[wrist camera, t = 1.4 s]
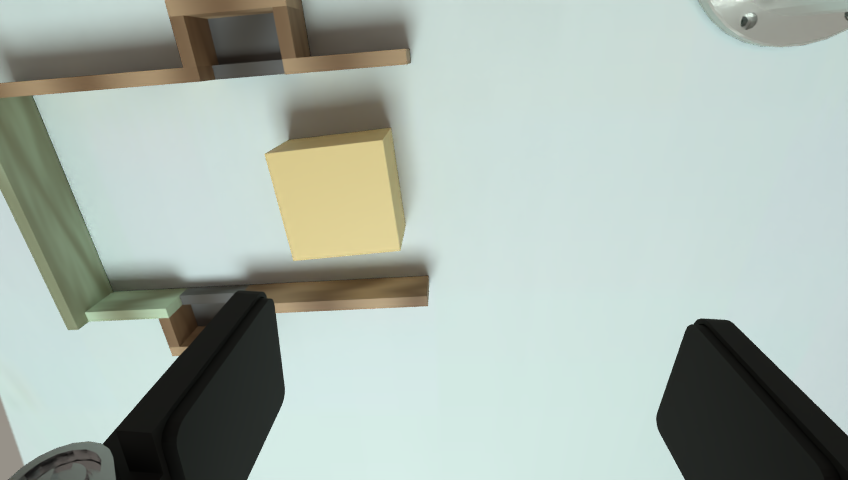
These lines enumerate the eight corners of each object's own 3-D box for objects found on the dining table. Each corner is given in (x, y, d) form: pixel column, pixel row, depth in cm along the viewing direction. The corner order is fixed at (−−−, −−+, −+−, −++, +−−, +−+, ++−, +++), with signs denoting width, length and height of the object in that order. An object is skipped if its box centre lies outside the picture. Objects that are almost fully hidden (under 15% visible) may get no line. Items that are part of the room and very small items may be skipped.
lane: (404, -15, 25) (397, -26, 22) (432, 322, 35) (431, 354, 31) (-10, 24, 27) (-81, 20, 23) (121, 335, 36) (86, 367, 33)
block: (391, 127, 29) (382, 140, 25) (405, 224, 32) (400, 250, 28) (289, 139, 29) (264, 153, 25) (312, 234, 32) (293, 261, 28)
